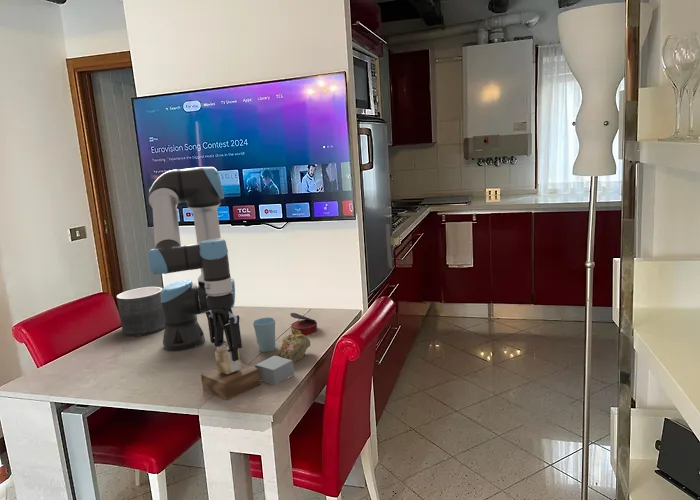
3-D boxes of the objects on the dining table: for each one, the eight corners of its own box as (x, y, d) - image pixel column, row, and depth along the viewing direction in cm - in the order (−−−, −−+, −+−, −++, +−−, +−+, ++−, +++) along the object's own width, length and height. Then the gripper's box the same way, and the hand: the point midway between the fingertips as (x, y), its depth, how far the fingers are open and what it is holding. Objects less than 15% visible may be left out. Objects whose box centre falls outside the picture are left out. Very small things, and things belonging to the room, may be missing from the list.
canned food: (293, 342, 206) (286, 317, 208) (318, 335, 208) (311, 311, 211) (295, 338, 195) (288, 312, 198) (321, 330, 198) (314, 305, 200)
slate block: (257, 380, 163) (255, 364, 162) (275, 370, 169) (274, 355, 168) (275, 385, 158) (273, 369, 157) (294, 375, 164) (292, 360, 163)
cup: (281, 350, 186) (277, 321, 184) (259, 355, 183) (256, 326, 181) (275, 343, 193) (271, 316, 191) (254, 348, 190) (250, 320, 188)
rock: (296, 376, 175) (291, 356, 169) (273, 368, 178) (268, 349, 172) (312, 349, 183) (308, 330, 177) (290, 343, 186) (285, 323, 180)
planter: (114, 332, 222) (108, 295, 219) (154, 319, 235) (148, 285, 232) (136, 339, 210) (129, 301, 207) (176, 325, 223) (170, 289, 220)
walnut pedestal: (203, 390, 159) (200, 374, 158) (236, 375, 167) (234, 360, 166) (226, 400, 151) (224, 383, 150) (260, 384, 159) (258, 368, 158)
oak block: (217, 370, 158) (214, 351, 157) (231, 364, 161) (228, 346, 160) (227, 374, 154) (224, 354, 153) (241, 368, 158) (238, 349, 157)
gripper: (190, 292, 157) (201, 366, 161) (226, 300, 145) (237, 380, 149) (212, 286, 162) (222, 358, 167) (248, 293, 150) (258, 370, 155)
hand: (229, 368), depth 158 cm, fingers closed on oak block, 5 cm apart
